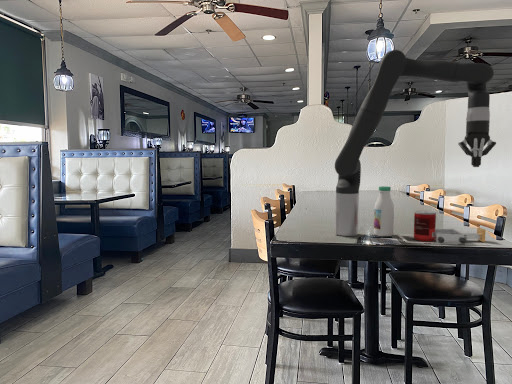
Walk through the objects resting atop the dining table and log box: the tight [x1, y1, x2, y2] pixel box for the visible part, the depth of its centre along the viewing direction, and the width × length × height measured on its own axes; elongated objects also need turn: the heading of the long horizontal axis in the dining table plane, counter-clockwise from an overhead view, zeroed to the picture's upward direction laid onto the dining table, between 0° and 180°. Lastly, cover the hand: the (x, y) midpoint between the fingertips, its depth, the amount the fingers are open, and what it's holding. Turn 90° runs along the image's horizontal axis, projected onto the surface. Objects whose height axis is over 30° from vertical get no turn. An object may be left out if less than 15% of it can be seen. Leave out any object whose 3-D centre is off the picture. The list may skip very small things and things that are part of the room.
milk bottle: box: [373, 185, 395, 237], centre depth 160 cm, size 8×8×20 cm
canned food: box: [413, 209, 437, 242], centre depth 151 cm, size 8×8×11 cm
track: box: [397, 234, 490, 246], centre depth 150 cm, size 29×15×1 cm, turn 82°
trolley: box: [434, 227, 487, 244], centre depth 149 cm, size 18×15×4 cm
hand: (476, 166), depth 146 cm, fingers closed
